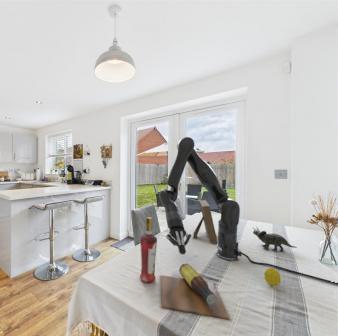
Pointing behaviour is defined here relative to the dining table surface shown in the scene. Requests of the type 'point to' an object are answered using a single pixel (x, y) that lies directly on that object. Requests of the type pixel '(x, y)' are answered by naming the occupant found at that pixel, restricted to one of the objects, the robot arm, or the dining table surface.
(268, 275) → the lemon
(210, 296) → the sauce bottle
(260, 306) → the dining table surface
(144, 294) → the dining table surface
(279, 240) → the toy dinosaur
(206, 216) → the photo frame
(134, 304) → the dining table surface
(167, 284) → the wooden board
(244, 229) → the dining table surface
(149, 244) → the liquor
